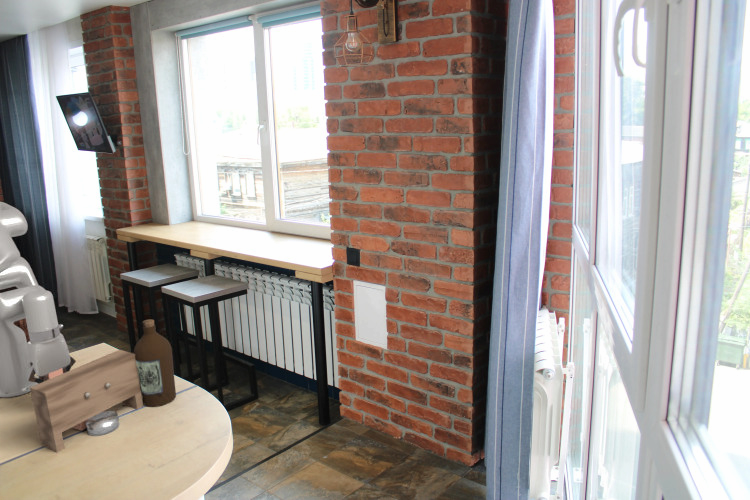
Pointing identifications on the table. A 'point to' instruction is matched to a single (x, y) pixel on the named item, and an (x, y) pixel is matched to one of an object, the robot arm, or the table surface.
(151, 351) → the olive oil
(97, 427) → the puck
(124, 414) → the table surface
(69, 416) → the cabinet
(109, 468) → the table surface
